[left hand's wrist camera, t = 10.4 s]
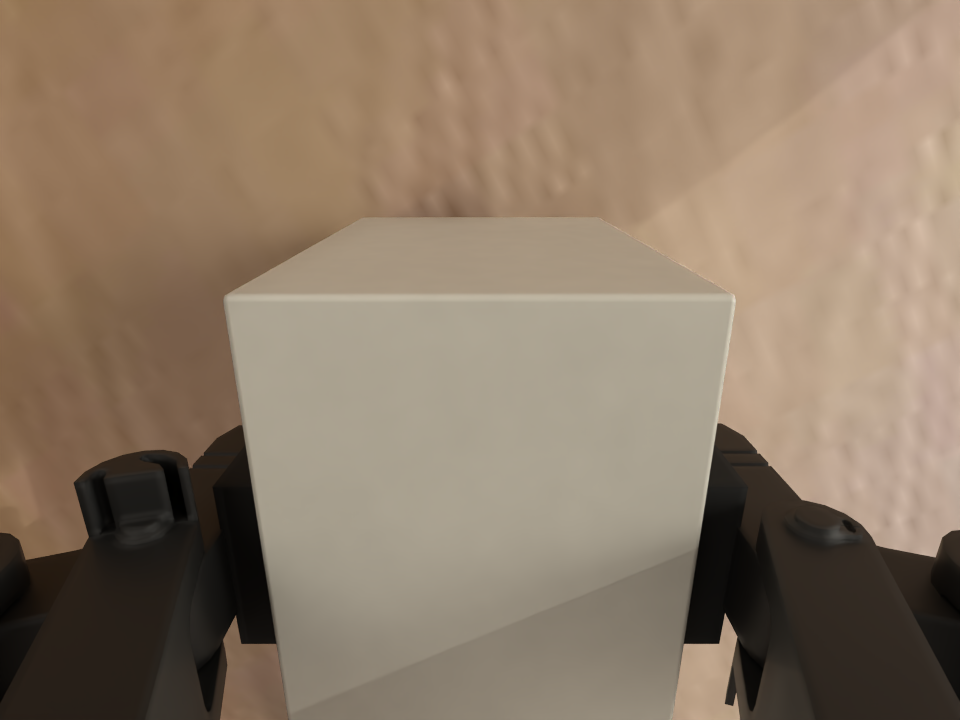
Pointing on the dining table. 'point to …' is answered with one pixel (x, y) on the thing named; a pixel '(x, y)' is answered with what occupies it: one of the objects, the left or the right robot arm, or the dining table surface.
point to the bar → (479, 465)
